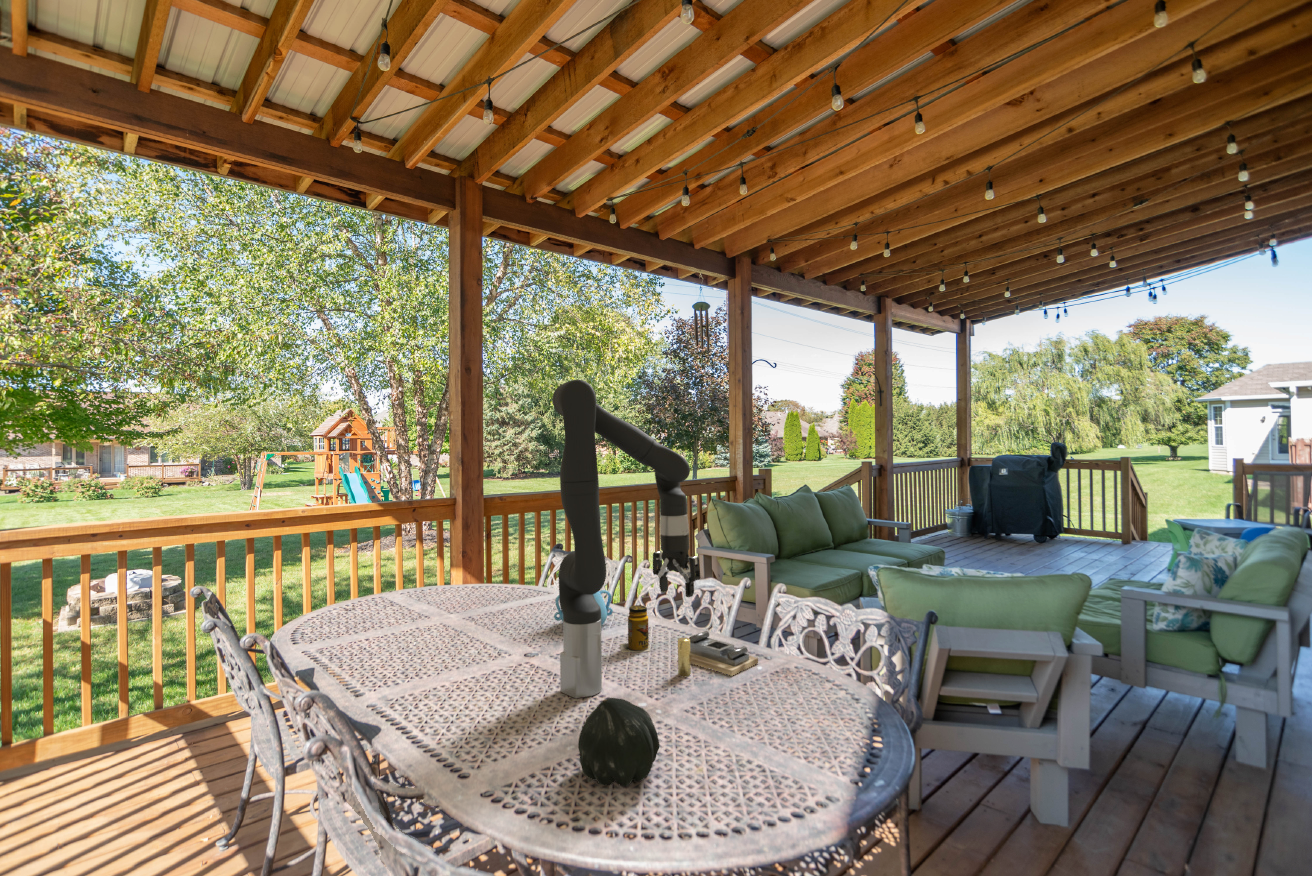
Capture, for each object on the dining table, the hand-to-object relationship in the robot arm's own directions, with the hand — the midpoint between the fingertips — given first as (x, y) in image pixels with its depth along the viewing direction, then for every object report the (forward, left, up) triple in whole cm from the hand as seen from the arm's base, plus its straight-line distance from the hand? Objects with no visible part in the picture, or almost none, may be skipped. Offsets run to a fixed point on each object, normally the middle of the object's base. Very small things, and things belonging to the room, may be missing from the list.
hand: (676, 594), depth 158 cm
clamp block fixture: (+14, -3, -21) cm, 25 cm away
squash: (-43, -24, -21) cm, 54 cm away
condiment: (+7, +22, -21) cm, 31 cm away
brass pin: (+1, -2, -21) cm, 21 cm away
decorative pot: (+11, +50, -21) cm, 55 cm away
